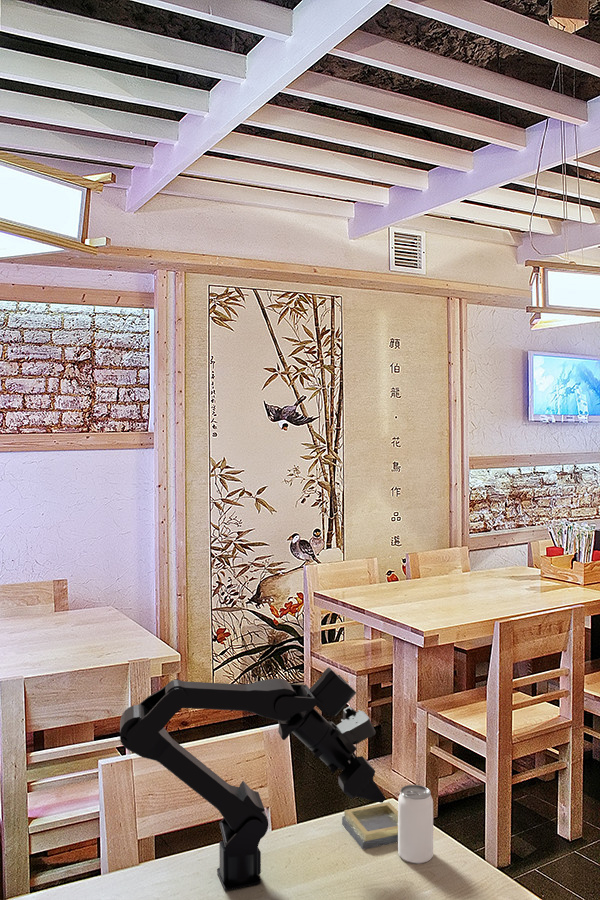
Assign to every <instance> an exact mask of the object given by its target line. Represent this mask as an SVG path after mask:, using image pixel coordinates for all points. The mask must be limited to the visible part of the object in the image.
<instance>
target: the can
mask: <svg viewBox="0 0 600 900" xmlns="http://www.w3.org/2000/svg"><path fill="white" fill-rule="evenodd" d="M431 793H432V792H431V790H430V789H429V788H428V787H426V786H424V785H420V784H408V785H404V786H403V787H401V788H400V793H399V795H398V798H397V799H398V800H397V802H398V803H397V811H398V843H397V852H398V855H399V857H400V858H401V859H402V860H403V861H405V862H407V863H409V864H416V865H417V864H418V865H419V864H426V863H428V862H429V861H430V860H431V859H432V858H433V855H434V800H433V797H432V794H431Z"/></svg>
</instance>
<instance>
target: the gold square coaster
mask: <svg viewBox="0 0 600 900" xmlns="http://www.w3.org/2000/svg"><path fill="white" fill-rule="evenodd" d="M341 818H342V819H341V825H343V827H344V828H345V830H346V831H347V832H348V833H349V835H350V836H351V837H352V838H353V839H354V841H355V842H356V843H357V844H358V846H359V847H360V849H362V850H366V849H372V848H377V847H381V846H382V847H383V846H389V845H392V844H396V842H398V809H397V808H395V806H393V804H392V803H390V801H388V802H384V803H383V802H382V803H377V804H371V805H366V806H361V807H355V808H351V809H350V808H349V809H344V814H343V816H341Z"/></svg>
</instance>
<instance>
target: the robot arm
mask: <svg viewBox="0 0 600 900" xmlns="http://www.w3.org/2000/svg"><path fill="white" fill-rule="evenodd" d="M356 694H357V691H356V690H355V689H354V688H353V687H352V686H351V685H350V684H349V683H348V682H347V681H346V680H345V679H344V678H343V677H342V676H341V675H340V674H337V673H336V672H335V671H334V670H333V669H332V668H330V667H329V666H328V667H326V669H325V670H324V671H323V673H322V674H321V676H320V677H319V678H318V679H317V680H316V681H315V682H314V683H313V684H312V685H311V687H309V686H308V685H307V684H300V683H299V684H298V683H289V681H287V680H286V679H284V678H279V677H278V678H271V679H270V678H269V679H261V680H259V681H255V682H253V683H248V684H243V683H241V684H240V683H226V682H225V683H221V682H205V681H203V682H202V681H186V680H185V681H184V680H181V679H173V680H171V681H169V682H168V683H167V684H166V685H165V686H163V687H162V688H161V689H159V690H156V692H153V693H152V694H150V695H149V696H147V697H146V698H145V699H143V700H142V701H141V702H140V703H139V704H136V705H131V706H130V707H128V708H126V709H125V710H124V711H123V713H122V714H121V716H120V720H119V739H120V743H121V745H122V746H123V747H124V748H125V749H126V750H128V751H129V752H131V753H134V754H135V755H138V756H139V757H141V758H143V759H147V760H151V761H155V762H157V763H159V764H160V765H162V766H163V767H164V768H166V769H167V770H168V771H169V772H170V773H172V774H173V775H174V776H175V777H176V778H178V779H179V780H180V781H182V782H183V783H184V784H186V785H187V787H189V788H190V789H192V790H193V791H194V792H196V793H197V795H199V796H200V797H202V798H203V799H205V801H207V802H208V803H209V804H211V805H212V806H213V807H214V808H215V809H217V810H218V811H219V813H220V815H221V816H222V819H221V820H220V821H219V828H220V831H221V837H222V840H221V841H219V867H218V868H216V872H217V875H218V877H219V880H220V882H221V885H222V887H223V889H224V891H227V892H228V891H231V890H237V889H242V888H246V887H247V888H248V887H251V886H257V885H260V884H261V883H262V879H261V877H260V875H261V873H262V870H261V869H262V866H261V865H262V859H261V858H262V852H261V849H260V848H259V844H260V842H261V839H262V838H263V837H264V836H266V834H267V832H268V829H269V819H268V816H267V814H266V811H265V806H264V804H263V801H262V799H261V796H260V793H259V791H256V790H253V789H252V788H250V787H249V786H248V784H247V783H246V782H245V781H244V780H242V781H241V782H240V784H239V786H235V785H231V784H230V783H228V782H227V781H225V780H224V779H223V778H222V777H221V776H219V775H218V774H217V773H216V772H214V771H213V770H212V769H211V768H209V767H208V766H207V765H206V764H204V763H203V762H202V761H201V760H199V758H197V757H196V756H195V755H193V754H192V753H190V752H189V751H188V750H187V749H186V748H185V747H183V745H181V744H180V743H179V742H177V741H176V740H175V739H174V738H172V736H171V735H170V734H169V733H168V731H167V730H166V728H165V726H166V725H167V724H168V723H169V722H170V720H171V719H172V718H174V716H175V715H177V713H178V712H179V711H181V709H191V710H192V709H193V710H195V709H197V710H198V709H199V710H218V711H235V712H236V711H237V712H238V711H241V712H248V713H251V714H255V715H258V716H259V717H262V718H264V719H265V718H266V719H269V720H273V721H277V722H278V734H279V736H280V738H281V740H282V741H284V740H286V739H287V738H288V737H289V736H290V735H291V734H293V735H294V736H295V737H297V739H298V740H299V741H301V742H302V744H304V745H305V747H306V748H308V749H309V750H310V751H311V752H312V754H313V756H314V757H315V758H316V759H320V760H321V761H322V762H323V763H324V764H325V765H326V767H327V769H328V770H329V771H330V772H331V773H332V774H335V772H336V771H337V770H338V769H340V770H342V771H341V772H340V774H338V777H337V780H338V781H337V783H338V785H339V787H340V788H341V790H342V792H343V793H344V794H345V795H346V796H347V797H348V798H349V799H350V800H352V799H355V798H359V799H365V800H369V801H374V802H376V803H379V804H382V803H383V802H384V801H385V800H386V799H387V798H386V796H385V795H384V793H383V791H382V790H381V789H380V788H379V786H378V785H377V784H376V781H374V777H375V775H376V770H375V768H374V767H373V765H372V764H371V763H370V762H369V761H368V760H367V759H366V758H365V757H364V756H361V755H360V756H357V755H356V753H355V752H356V750H357V749H358V748H357V747H356V746H355V745H358V744H360V743H361V742H363V741H365V740H366V739H368V738H372V737H373V736H375V735H376V733H377V732H376V730H375V728H374V725H373V723H372V720H371V718H370V717H369V715H368V714H367V713H366V712H365V711H364V710H361V709H358V710H355V709H354V708H352V707H351V706H347V707H346V705H347V704H348V703H349V702H350V701H351V700H352V699H353V697H354V696H356ZM315 707H317V709H319V710H320V711H321V713H323V714H324V715H325V716H326V717H329V716H330V717H331V718H333V717H334V716H335V717H337V715H338V714H339V713H340V712H341V711H342V718H341V719H340V721H341V722H340V723H338V724H335V723H334V721H332V720H331V721H330V720H327V719H326V718H325V717H324V716H323V715H322V714H321V713H320V712H318V710H316V709H315ZM345 707H346V708H345Z"/></svg>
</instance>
